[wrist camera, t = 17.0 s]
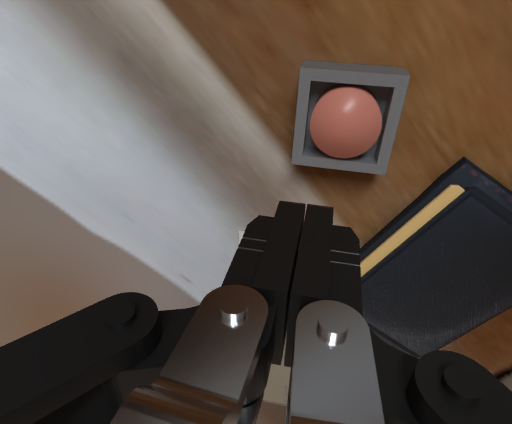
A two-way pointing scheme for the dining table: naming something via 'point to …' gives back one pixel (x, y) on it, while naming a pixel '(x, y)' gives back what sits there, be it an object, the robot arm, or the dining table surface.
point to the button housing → (329, 74)
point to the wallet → (440, 263)
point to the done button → (345, 120)
